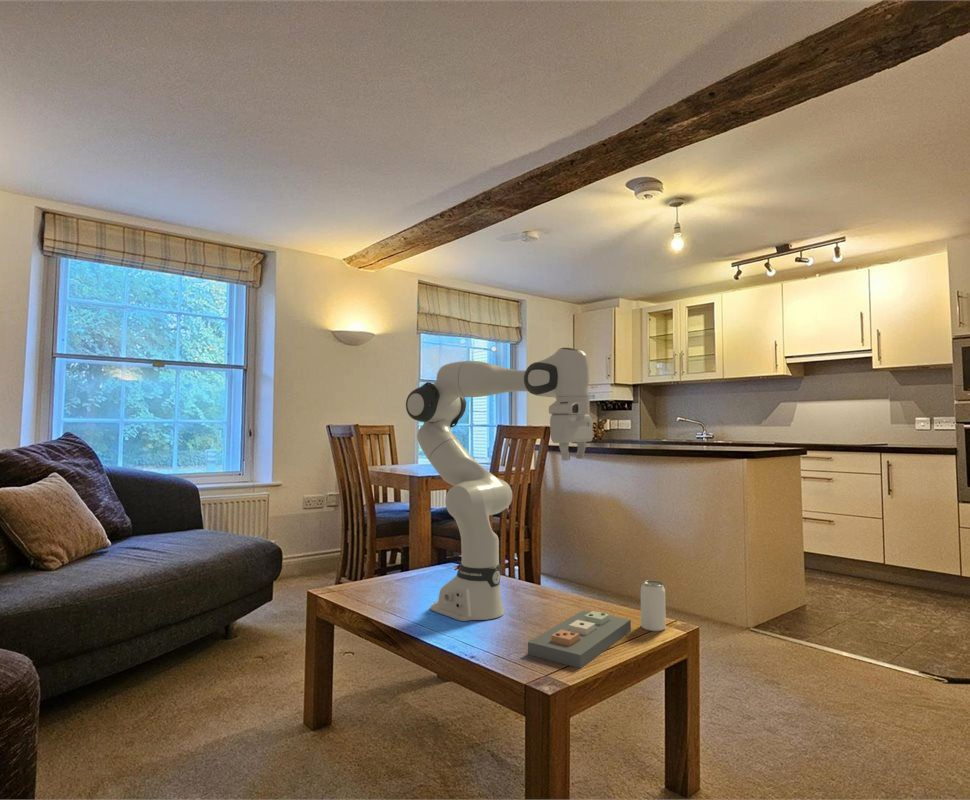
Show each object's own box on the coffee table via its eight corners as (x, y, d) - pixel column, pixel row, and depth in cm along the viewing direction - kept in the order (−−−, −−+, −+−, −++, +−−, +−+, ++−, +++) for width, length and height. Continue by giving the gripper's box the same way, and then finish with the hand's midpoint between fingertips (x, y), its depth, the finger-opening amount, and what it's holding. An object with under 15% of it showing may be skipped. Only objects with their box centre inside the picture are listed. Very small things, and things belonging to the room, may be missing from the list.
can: (646, 622, 165) (646, 578, 165) (669, 627, 161) (668, 582, 161) (636, 628, 160) (636, 583, 160) (659, 633, 156) (659, 587, 156)
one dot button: (568, 637, 149) (568, 624, 149) (577, 631, 153) (577, 618, 153) (586, 641, 146) (586, 628, 146) (595, 635, 150) (595, 622, 150)
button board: (527, 654, 142) (527, 641, 142) (583, 621, 166) (583, 610, 166) (580, 668, 133) (580, 655, 134) (630, 631, 158) (630, 619, 158)
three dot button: (551, 647, 142) (551, 634, 142) (561, 641, 146) (561, 628, 146) (569, 652, 139) (569, 638, 139) (579, 646, 143) (579, 632, 143)
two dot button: (584, 627, 156) (584, 614, 157) (592, 622, 160) (592, 610, 161) (601, 630, 154) (601, 618, 154) (609, 625, 158) (609, 613, 158)
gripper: (577, 408, 168) (577, 457, 168) (545, 407, 151) (545, 461, 150) (598, 408, 165) (598, 458, 164) (568, 406, 147) (568, 461, 147)
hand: (573, 459), depth 157 cm, fingers open, 8 cm apart
